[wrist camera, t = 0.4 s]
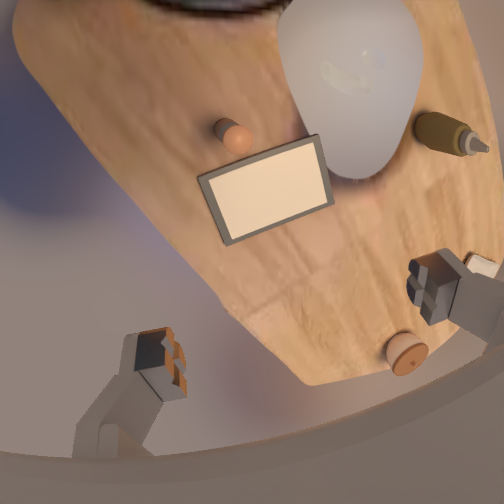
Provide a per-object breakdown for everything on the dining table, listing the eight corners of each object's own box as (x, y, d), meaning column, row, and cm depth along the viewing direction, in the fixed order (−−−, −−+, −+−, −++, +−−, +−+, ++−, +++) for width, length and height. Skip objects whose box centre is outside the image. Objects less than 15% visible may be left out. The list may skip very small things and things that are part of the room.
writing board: (197, 176, 53) (197, 178, 52) (316, 133, 54) (319, 134, 53) (225, 244, 60) (226, 247, 59) (332, 202, 61) (335, 204, 60)
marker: (209, 122, 49) (219, 131, 39) (232, 114, 49) (248, 121, 39) (217, 143, 51) (229, 158, 41) (239, 135, 51) (256, 148, 41)
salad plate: (467, 248, 79) (474, 254, 76) (494, 260, 86) (501, 265, 83) (433, 308, 87) (439, 314, 84) (465, 311, 95) (470, 317, 92)
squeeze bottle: (431, 149, 60) (492, 175, 45) (406, 140, 58) (469, 165, 43) (440, 115, 57) (503, 135, 41) (415, 104, 54) (480, 120, 39)
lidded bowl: (419, 323, 88) (438, 346, 79) (403, 352, 94) (420, 375, 85) (389, 328, 85) (408, 354, 76) (373, 359, 91) (390, 384, 81)
